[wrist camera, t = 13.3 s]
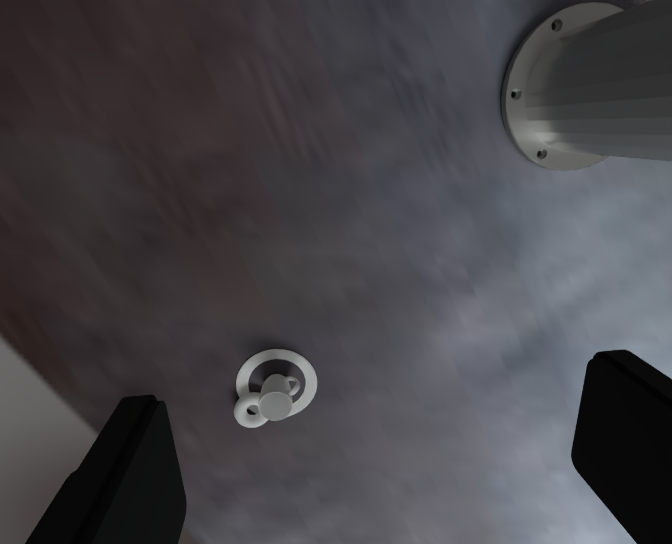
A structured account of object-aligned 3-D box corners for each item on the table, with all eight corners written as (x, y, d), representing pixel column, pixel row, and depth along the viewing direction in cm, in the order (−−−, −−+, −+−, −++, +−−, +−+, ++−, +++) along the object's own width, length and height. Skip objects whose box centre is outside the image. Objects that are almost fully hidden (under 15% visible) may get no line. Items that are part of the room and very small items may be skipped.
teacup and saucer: (244, 425, 43) (240, 455, 39) (217, 362, 40) (209, 387, 36) (326, 401, 43) (329, 428, 39) (303, 336, 40) (305, 358, 36)
